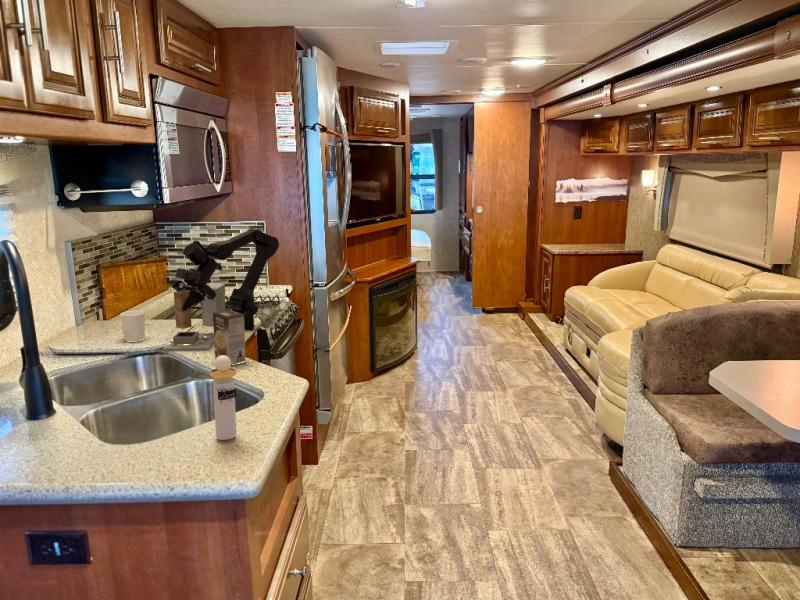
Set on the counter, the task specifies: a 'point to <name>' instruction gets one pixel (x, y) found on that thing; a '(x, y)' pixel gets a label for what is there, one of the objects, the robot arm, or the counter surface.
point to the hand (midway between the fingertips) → (179, 309)
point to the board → (200, 347)
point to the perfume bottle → (224, 398)
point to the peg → (182, 316)
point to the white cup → (133, 325)
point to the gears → (189, 339)
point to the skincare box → (213, 304)
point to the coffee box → (229, 335)
